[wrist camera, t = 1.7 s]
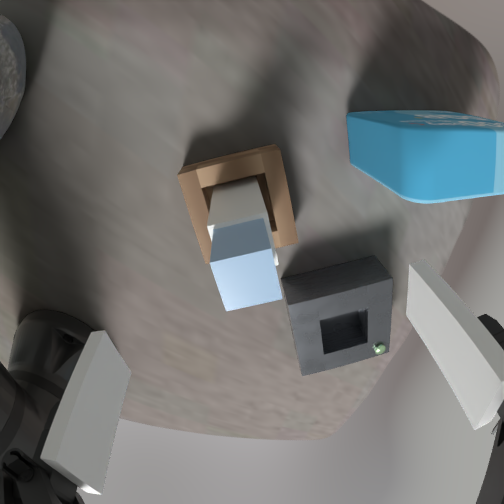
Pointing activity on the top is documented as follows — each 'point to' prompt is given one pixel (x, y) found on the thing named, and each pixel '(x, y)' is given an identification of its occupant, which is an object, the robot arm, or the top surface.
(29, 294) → the top surface
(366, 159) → the data package
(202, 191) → the frame
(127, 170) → the top surface
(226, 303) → the plug
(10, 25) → the grey metal pot
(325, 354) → the port
